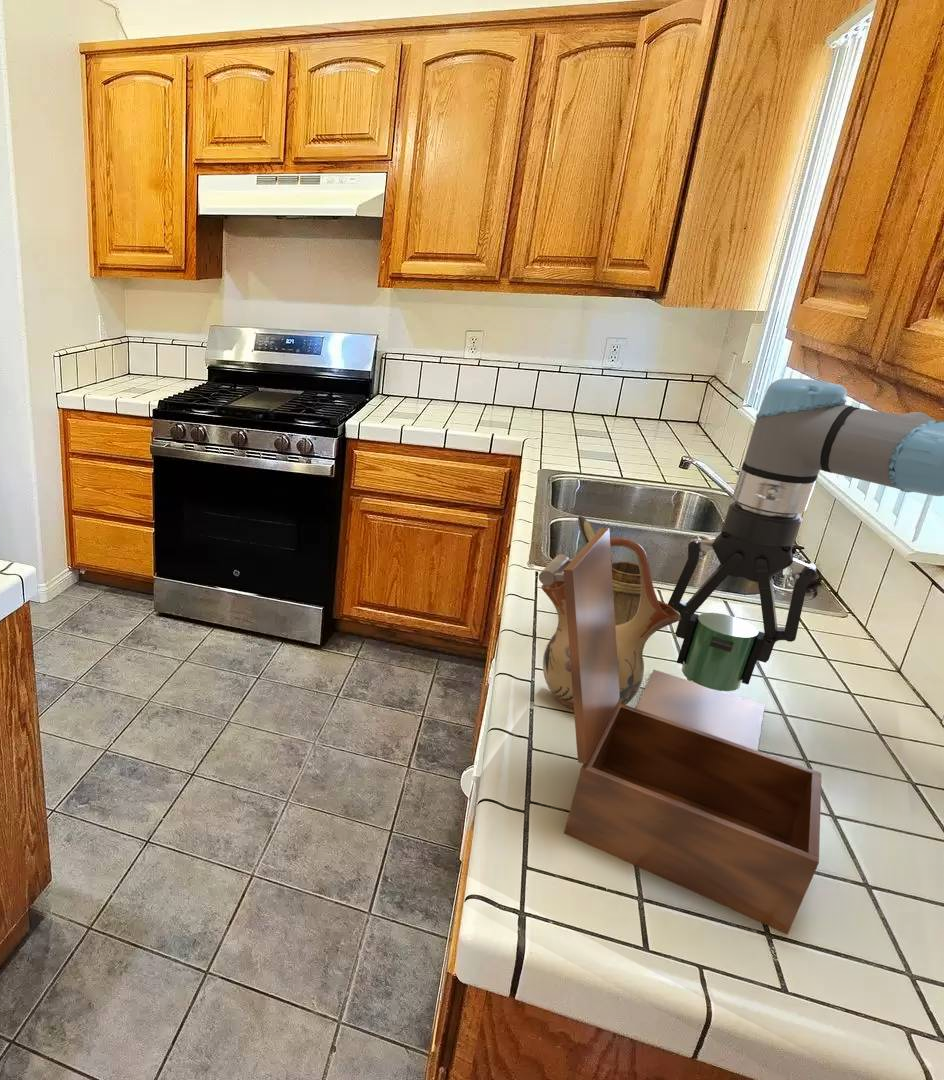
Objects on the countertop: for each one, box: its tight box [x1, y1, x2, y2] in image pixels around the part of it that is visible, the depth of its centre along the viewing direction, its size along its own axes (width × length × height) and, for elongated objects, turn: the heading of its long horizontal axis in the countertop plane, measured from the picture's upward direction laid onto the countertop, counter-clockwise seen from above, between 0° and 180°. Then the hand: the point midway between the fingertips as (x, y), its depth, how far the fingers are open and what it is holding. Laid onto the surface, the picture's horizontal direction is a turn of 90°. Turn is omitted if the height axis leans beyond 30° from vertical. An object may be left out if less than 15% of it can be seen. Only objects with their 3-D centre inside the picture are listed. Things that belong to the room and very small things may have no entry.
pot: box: [681, 612, 759, 692], centre depth 100 cm, size 7×10×8 cm
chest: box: [563, 702, 822, 935], centre depth 78 cm, size 20×16×9 cm
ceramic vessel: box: [540, 537, 681, 710], centre depth 98 cm, size 16×9×25 cm, turn 61°
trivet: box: [635, 669, 766, 751], centre depth 103 cm, size 14×14×1 cm
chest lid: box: [538, 527, 620, 764], centre depth 81 cm, size 20×16×5 cm
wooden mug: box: [577, 515, 641, 625], centre depth 123 cm, size 9×14×18 cm, turn 55°
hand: (712, 669), depth 101 cm, fingers closed on pot, 7 cm apart
